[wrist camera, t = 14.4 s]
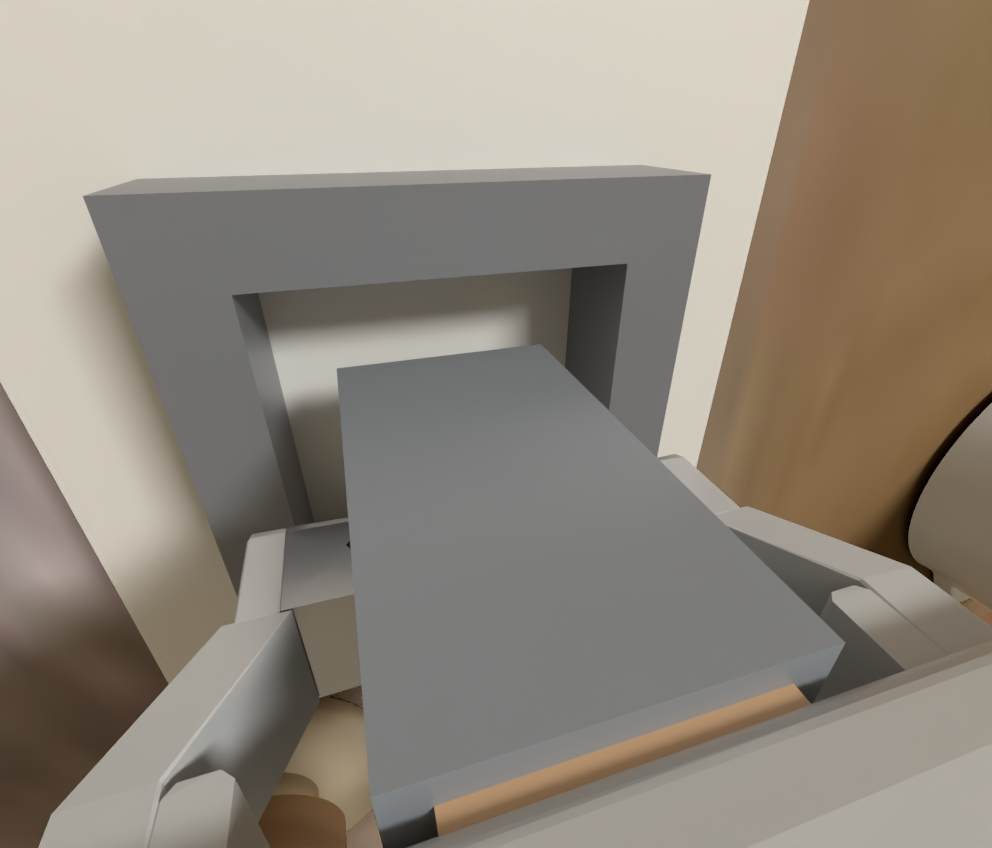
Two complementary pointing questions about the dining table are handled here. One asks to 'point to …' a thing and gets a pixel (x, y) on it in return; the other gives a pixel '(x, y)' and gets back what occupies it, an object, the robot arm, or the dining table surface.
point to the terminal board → (352, 238)
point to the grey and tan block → (541, 594)
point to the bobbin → (322, 782)
